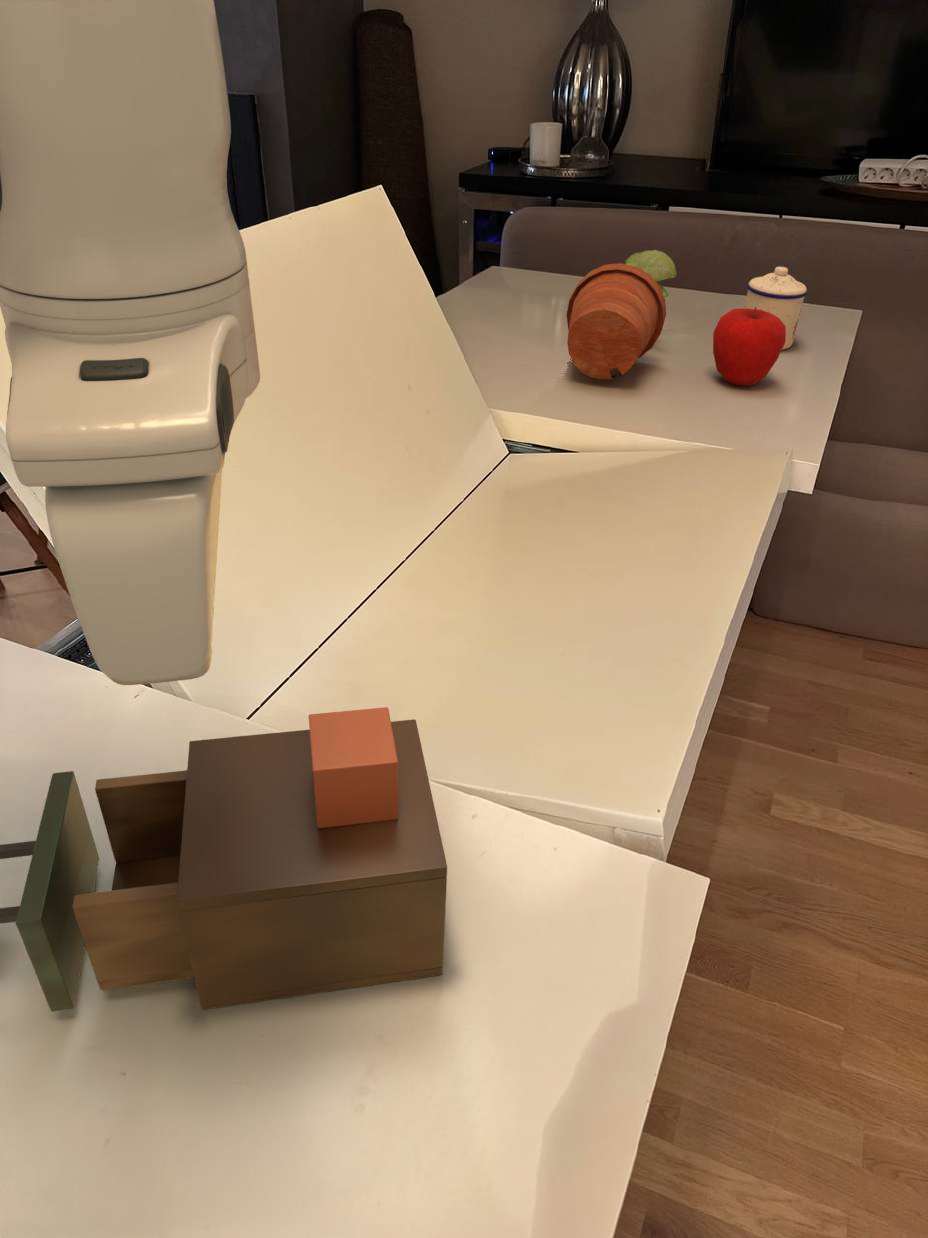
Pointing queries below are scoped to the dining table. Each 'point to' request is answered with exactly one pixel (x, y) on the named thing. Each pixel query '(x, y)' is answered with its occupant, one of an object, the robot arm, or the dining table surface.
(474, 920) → the dining table surface
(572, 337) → the potted plant
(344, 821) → the block
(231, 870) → the cabinet
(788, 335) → the teacup with lid
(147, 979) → the drawer
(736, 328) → the apple
